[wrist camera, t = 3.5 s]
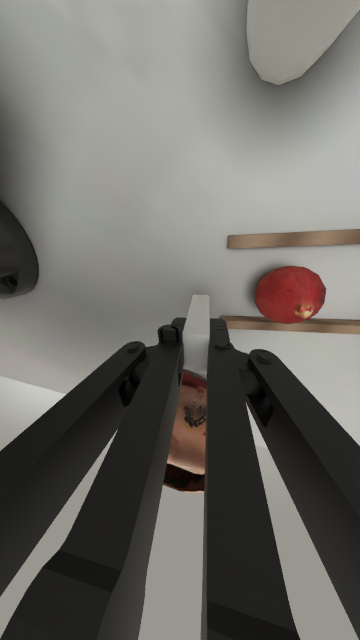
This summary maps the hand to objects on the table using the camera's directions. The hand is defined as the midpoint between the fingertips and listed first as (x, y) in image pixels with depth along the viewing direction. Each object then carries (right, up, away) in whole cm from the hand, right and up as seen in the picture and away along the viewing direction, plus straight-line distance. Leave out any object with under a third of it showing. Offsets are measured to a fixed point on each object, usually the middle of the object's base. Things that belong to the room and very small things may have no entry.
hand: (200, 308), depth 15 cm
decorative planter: (+1, -15, +17) cm, 22 cm away
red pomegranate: (+10, +3, +5) cm, 11 cm away
